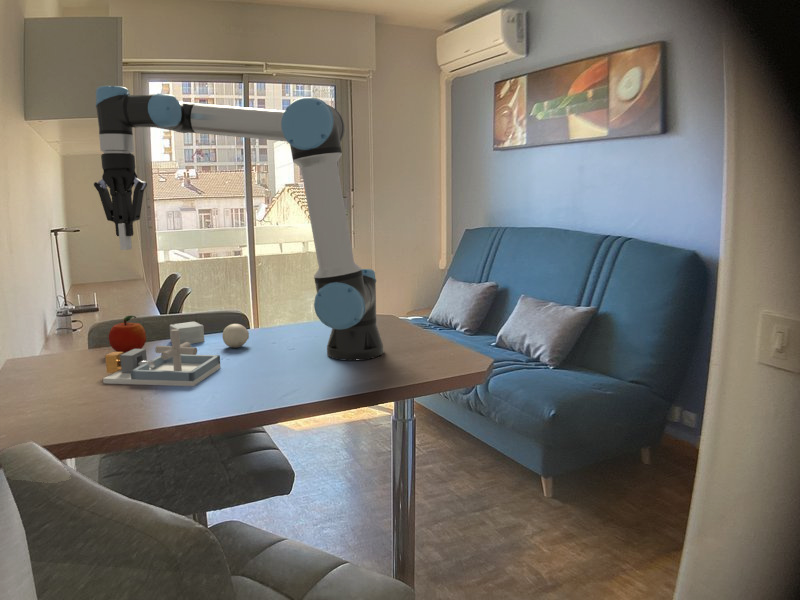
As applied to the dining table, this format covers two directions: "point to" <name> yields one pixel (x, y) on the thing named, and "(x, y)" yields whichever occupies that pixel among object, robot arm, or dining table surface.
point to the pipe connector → (176, 350)
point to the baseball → (235, 335)
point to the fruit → (127, 336)
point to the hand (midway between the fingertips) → (126, 249)
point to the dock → (163, 370)
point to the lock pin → (115, 362)
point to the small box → (189, 332)
